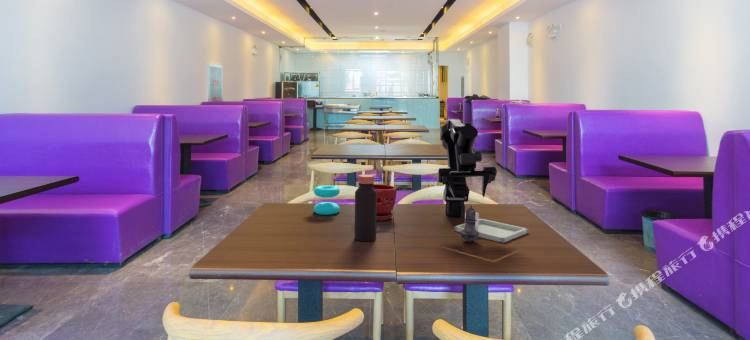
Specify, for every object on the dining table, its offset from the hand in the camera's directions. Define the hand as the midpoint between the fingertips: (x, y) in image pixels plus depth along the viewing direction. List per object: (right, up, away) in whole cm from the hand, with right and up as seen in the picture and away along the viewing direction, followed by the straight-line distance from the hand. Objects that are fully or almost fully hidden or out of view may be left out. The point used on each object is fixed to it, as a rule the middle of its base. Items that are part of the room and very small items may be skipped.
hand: (469, 196), depth 146 cm
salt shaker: (-1, -14, -7) cm, 16 cm away
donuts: (-49, -8, +30) cm, 58 cm away
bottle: (-33, -13, -4) cm, 36 cm away
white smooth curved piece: (+2, -12, +5) cm, 13 cm away
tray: (+8, -12, +4) cm, 15 cm away
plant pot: (-29, -9, +23) cm, 38 cm away
